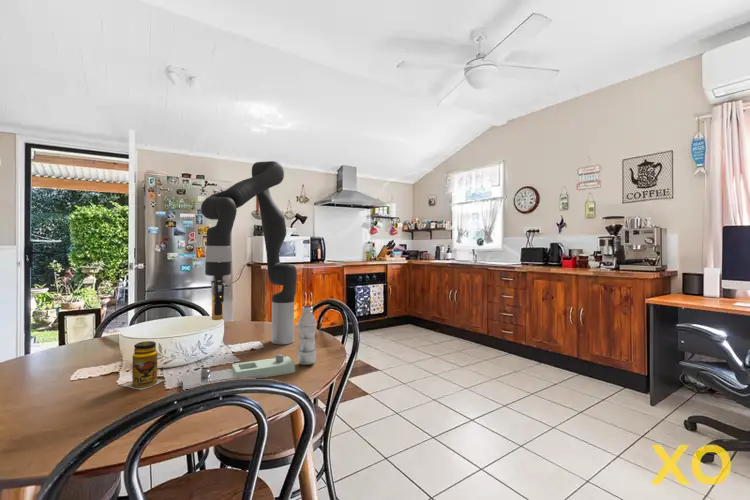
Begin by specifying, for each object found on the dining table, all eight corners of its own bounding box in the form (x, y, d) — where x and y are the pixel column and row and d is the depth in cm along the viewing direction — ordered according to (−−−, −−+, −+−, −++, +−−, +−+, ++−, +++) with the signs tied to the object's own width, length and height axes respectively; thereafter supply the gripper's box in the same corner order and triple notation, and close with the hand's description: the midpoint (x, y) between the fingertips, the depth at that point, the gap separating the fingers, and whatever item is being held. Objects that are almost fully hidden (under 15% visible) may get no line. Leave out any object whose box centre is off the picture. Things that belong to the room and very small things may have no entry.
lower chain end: (182, 380, 105) (182, 369, 105) (258, 369, 116) (258, 358, 116) (182, 390, 98) (183, 378, 98) (263, 377, 109) (263, 366, 109)
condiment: (142, 390, 98) (143, 347, 98) (120, 386, 101) (120, 344, 101) (165, 381, 105) (165, 341, 105) (143, 377, 108) (144, 338, 107)
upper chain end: (232, 373, 112) (232, 357, 112) (287, 364, 121) (288, 350, 121) (236, 382, 105) (236, 365, 105) (294, 372, 114) (295, 357, 114)
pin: (211, 318, 113) (211, 290, 113) (222, 317, 114) (222, 290, 114) (212, 320, 110) (212, 291, 110) (223, 319, 112) (223, 291, 112)
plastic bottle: (318, 361, 126) (319, 305, 125) (312, 367, 119) (314, 309, 119) (300, 360, 126) (301, 304, 126) (294, 366, 119) (295, 308, 119)
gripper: (204, 259, 116) (203, 311, 117) (206, 261, 104) (205, 319, 104) (228, 259, 120) (227, 309, 120) (233, 261, 108) (232, 317, 108)
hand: (217, 313), depth 112 cm, fingers closed on pin, 3 cm apart
